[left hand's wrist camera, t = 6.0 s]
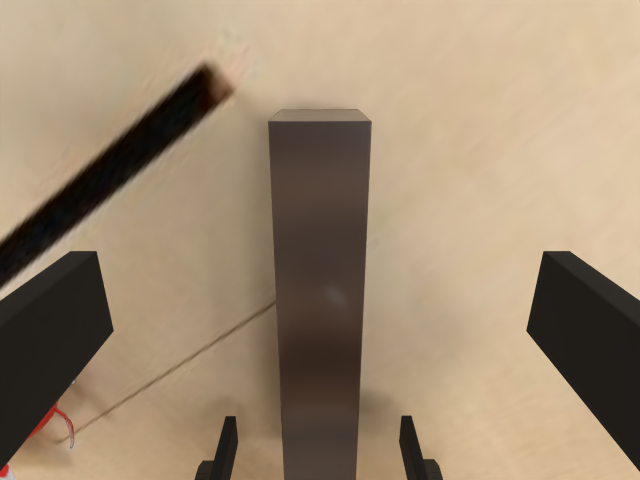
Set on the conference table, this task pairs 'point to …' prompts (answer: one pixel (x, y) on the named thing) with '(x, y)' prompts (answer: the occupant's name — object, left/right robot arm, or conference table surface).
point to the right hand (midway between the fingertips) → (318, 428)
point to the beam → (319, 284)
